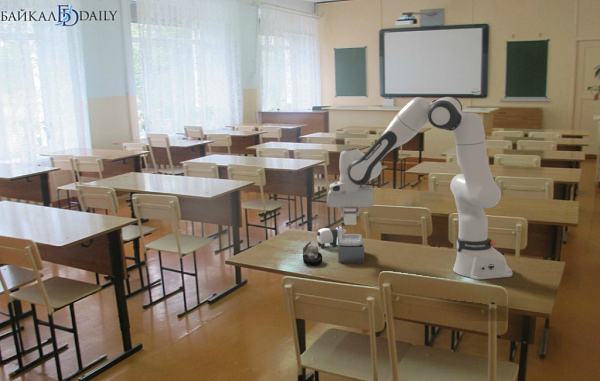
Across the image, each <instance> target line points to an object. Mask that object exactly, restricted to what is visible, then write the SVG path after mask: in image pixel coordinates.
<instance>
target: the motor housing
mask: <svg viewBox="0 0 600 381" xmlns="http://www.w3.org/2000/svg"><path fill="white" fill-rule="evenodd" d="M337 243H338V244H337V245H338V246H337V253H338V255H337V256H338V263H339V264H342V263H344V264H345V263H346V264H348V263H350V264H351V263H353V264H355V263H361V264H362V263H363V264H364V263H365V245H364V239H363V235H362V234H361V233H344V234H340V235H339V237H337Z"/></svg>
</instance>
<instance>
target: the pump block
mask: <svg viewBox="0 0 600 381" xmlns="http://www.w3.org/2000/svg"><path fill="white" fill-rule="evenodd" d="M343 212H344V216H345V217H343V219H344V222H343V223H344V226H349V225H350V226H356V225H357V217H356V214H357V212H358V211H357V207H343Z"/></svg>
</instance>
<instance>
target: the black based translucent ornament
mask: <svg viewBox="0 0 600 381" xmlns="http://www.w3.org/2000/svg"><path fill="white" fill-rule="evenodd" d="M311 242H312V241H309V242H308V243H306V244H305V246H304V247H303V248H302V262H303V264H304V265H305V266H308V267H317V266H320V265H322V263H323V255H322V253H320V252H319V246H318V245H315V244H311Z"/></svg>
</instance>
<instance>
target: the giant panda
mask: <svg viewBox="0 0 600 381" xmlns="http://www.w3.org/2000/svg"><path fill="white" fill-rule="evenodd" d="M346 232H347V229H344V228H343V227H342V226H340V225H338V224H337V225H336V228H335V227H332V228H330V227H329V228H327V227H325V228H324V227H323V228H320V229H318V231H317V233H316V239H317V240H316V241H317V244H318V245H317V247H318V248H319V247H320V249H326V248H327V247H326V244H329V245H330V246H332V247H333V248H336V246H337V247H338V244H337V243H338V237H339V235H340V234H346Z"/></svg>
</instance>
